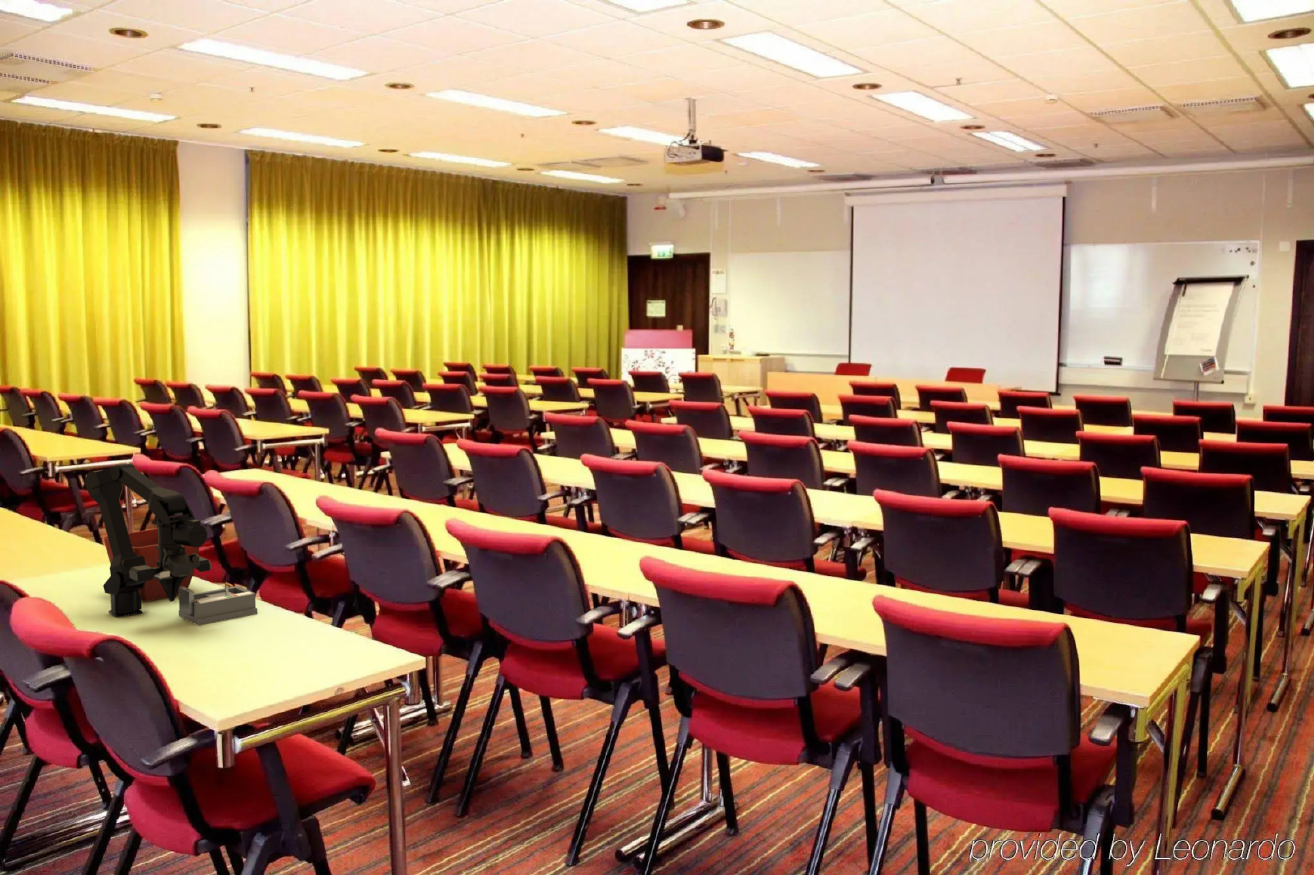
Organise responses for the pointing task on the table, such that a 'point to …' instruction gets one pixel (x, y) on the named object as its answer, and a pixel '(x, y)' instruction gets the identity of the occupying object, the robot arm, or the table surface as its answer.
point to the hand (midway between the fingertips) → (171, 601)
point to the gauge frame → (222, 606)
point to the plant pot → (151, 561)
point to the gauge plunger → (188, 599)
